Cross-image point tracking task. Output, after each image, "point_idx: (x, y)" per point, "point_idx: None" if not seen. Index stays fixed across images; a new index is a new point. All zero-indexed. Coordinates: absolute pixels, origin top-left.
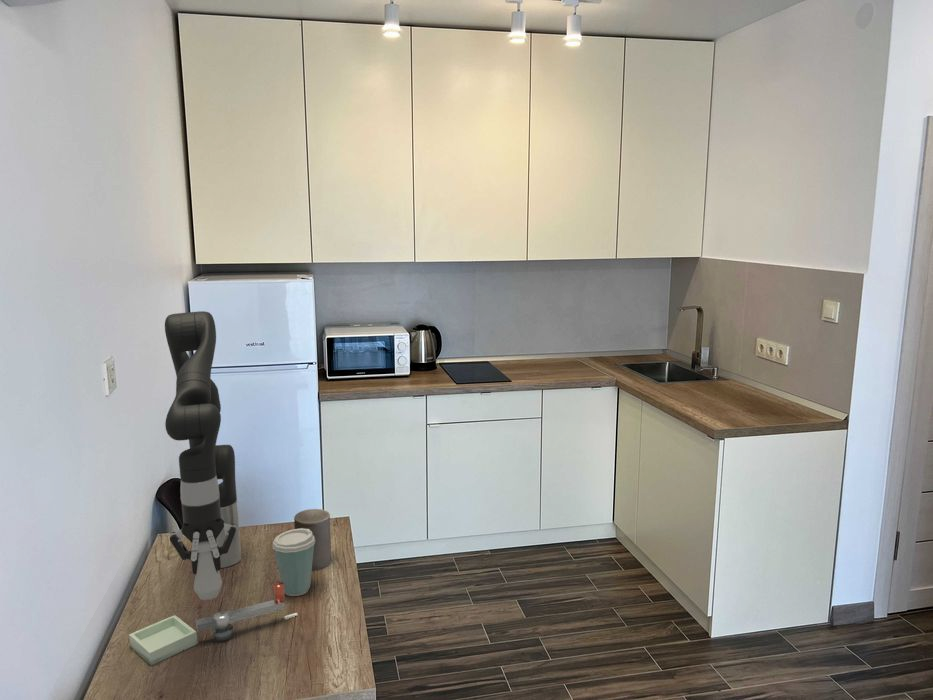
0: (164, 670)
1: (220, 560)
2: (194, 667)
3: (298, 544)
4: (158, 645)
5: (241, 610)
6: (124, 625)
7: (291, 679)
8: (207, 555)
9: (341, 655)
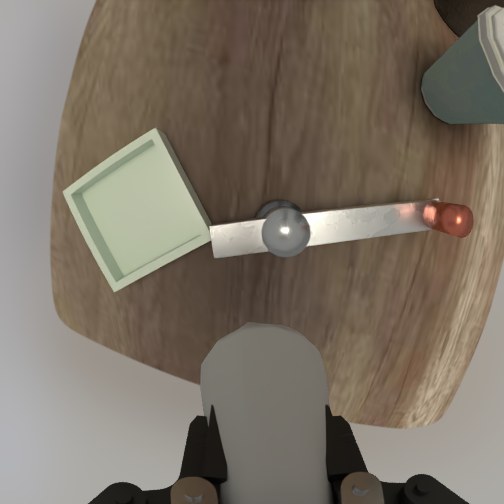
0: (154, 308)
1: (356, 447)
2: (213, 322)
3: None
4: (128, 225)
5: (341, 223)
6: (66, 98)
7: (372, 400)
8: None
9: (450, 360)
